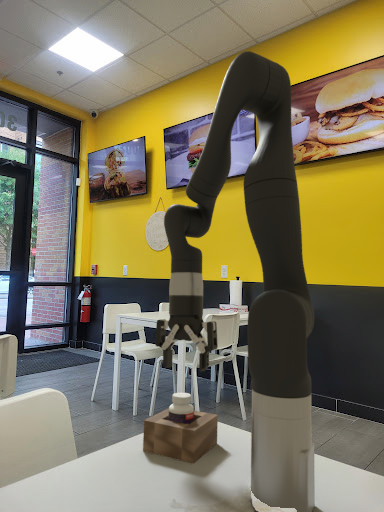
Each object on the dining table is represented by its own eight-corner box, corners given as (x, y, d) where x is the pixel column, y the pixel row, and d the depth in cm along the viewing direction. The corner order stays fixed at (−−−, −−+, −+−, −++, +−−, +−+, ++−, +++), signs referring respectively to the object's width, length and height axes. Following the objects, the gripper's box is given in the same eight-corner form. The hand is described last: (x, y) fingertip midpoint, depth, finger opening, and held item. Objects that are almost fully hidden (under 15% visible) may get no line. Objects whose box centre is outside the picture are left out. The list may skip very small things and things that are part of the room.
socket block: (217, 443, 81) (217, 414, 82) (193, 463, 71) (194, 430, 72) (171, 433, 87) (172, 406, 87) (142, 450, 76) (144, 420, 77)
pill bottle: (189, 448, 76) (190, 399, 76) (164, 445, 77) (165, 396, 78) (196, 438, 81) (197, 392, 82) (172, 435, 82) (173, 390, 83)
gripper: (222, 294, 83) (222, 369, 81) (167, 294, 89) (166, 363, 87) (208, 293, 76) (207, 375, 74) (150, 293, 83) (148, 368, 81)
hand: (185, 368), depth 81 cm, fingers open, 8 cm apart
